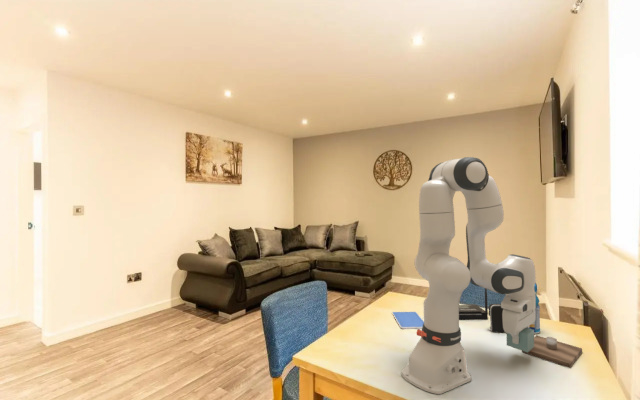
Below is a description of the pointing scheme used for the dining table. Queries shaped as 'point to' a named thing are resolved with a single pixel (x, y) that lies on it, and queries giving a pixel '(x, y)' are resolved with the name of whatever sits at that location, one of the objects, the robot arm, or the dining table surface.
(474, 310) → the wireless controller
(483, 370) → the dining table surface
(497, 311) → the battery charger
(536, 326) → the beverage bottle
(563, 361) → the stub plate
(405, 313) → the tablet computer
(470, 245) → the robot arm
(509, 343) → the sage green cube
